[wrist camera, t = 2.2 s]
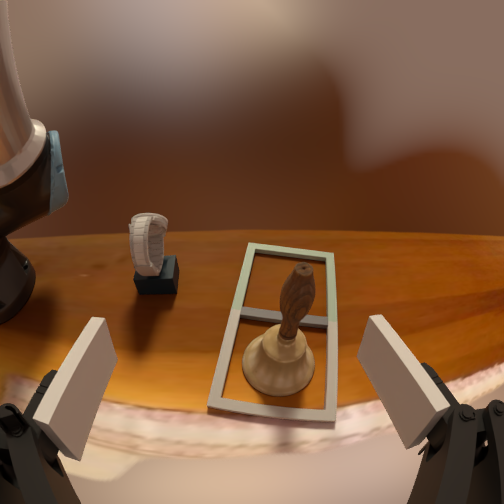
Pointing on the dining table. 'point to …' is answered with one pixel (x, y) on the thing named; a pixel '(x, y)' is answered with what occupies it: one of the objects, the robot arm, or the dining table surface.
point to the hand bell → (284, 341)
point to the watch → (152, 256)
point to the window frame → (276, 317)
